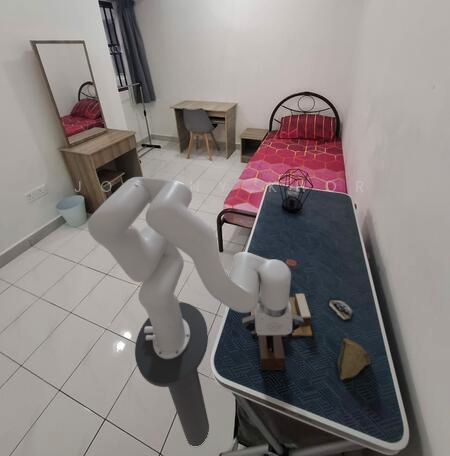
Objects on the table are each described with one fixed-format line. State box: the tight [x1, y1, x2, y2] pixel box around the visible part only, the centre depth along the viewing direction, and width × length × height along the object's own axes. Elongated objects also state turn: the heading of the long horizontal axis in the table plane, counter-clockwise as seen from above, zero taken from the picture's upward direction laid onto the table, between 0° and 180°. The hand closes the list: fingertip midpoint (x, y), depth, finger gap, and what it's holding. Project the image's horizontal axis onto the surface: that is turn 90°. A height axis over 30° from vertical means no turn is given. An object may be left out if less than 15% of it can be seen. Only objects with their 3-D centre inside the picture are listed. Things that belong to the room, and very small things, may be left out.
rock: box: [337, 338, 371, 381], centre depth 71 cm, size 11×9×10 cm
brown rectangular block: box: [294, 293, 312, 327], centre depth 85 cm, size 3×8×6 cm, turn 0°
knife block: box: [257, 334, 286, 371], centre depth 75 cm, size 7×7×7 cm
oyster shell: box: [328, 299, 354, 320], centre depth 88 cm, size 7×8×2 cm
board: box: [250, 296, 313, 338], centre depth 87 cm, size 20×13×1 cm, turn 90°
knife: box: [266, 335, 274, 353], centre depth 73 cm, size 2×3×14 cm, turn 179°
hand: (271, 336), depth 71 cm, fingers open, 9 cm apart
